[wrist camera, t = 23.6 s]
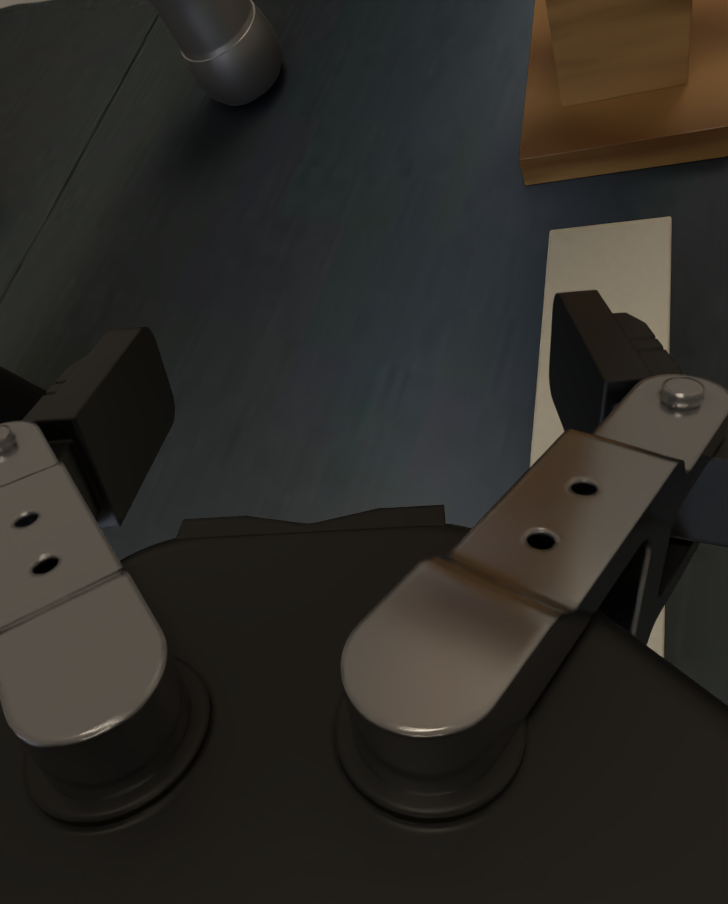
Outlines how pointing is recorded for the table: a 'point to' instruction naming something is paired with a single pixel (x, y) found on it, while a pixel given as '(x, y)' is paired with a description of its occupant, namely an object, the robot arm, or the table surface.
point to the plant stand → (624, 86)
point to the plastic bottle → (224, 46)
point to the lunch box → (622, 288)
